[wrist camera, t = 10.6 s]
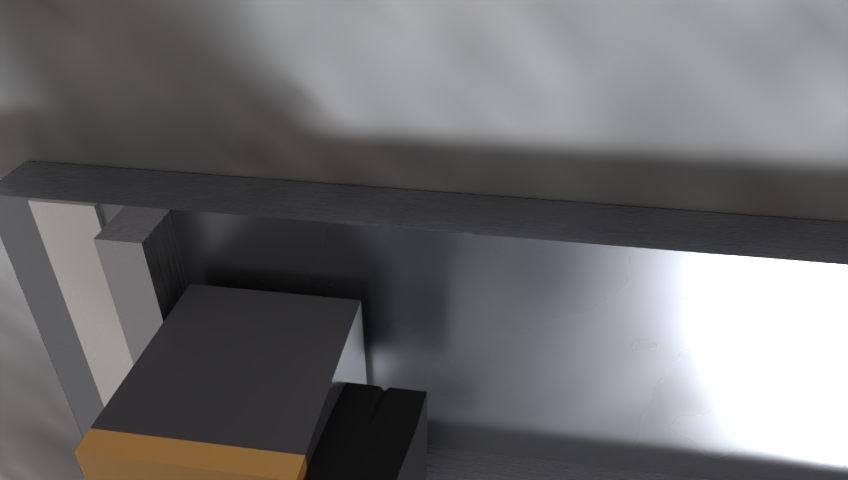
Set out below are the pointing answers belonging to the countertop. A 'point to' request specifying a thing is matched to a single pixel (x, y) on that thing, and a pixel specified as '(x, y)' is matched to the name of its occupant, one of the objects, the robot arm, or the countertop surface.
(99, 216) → the panel
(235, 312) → the block
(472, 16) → the countertop surface
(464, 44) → the countertop surface
